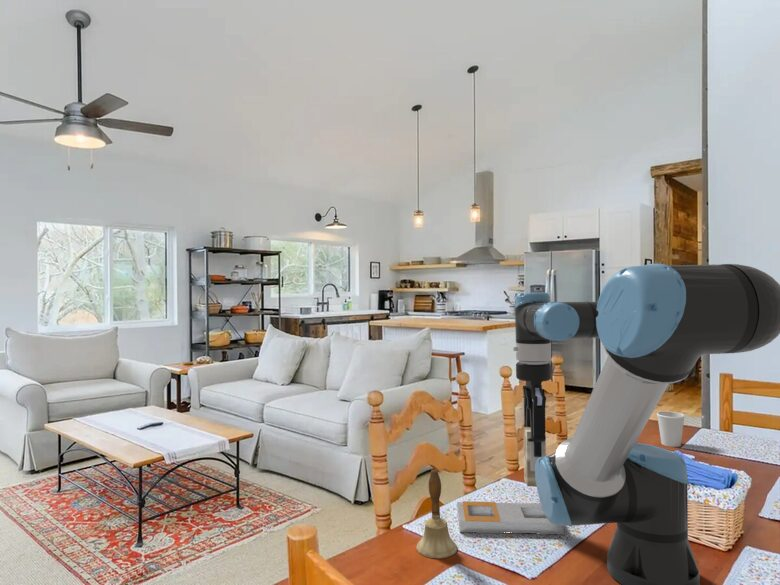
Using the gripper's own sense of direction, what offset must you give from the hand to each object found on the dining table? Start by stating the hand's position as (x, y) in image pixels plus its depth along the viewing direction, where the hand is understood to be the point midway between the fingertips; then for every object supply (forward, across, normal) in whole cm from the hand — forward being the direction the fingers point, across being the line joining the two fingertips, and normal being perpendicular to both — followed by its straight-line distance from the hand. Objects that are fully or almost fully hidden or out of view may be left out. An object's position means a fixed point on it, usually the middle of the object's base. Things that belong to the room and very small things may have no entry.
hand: (534, 466), depth 116 cm
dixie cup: (+13, -61, +56) cm, 84 cm away
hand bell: (+13, +12, -22) cm, 28 cm away
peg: (+4, 0, 0) cm, 4 cm away
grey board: (+13, 0, -6) cm, 14 cm away
